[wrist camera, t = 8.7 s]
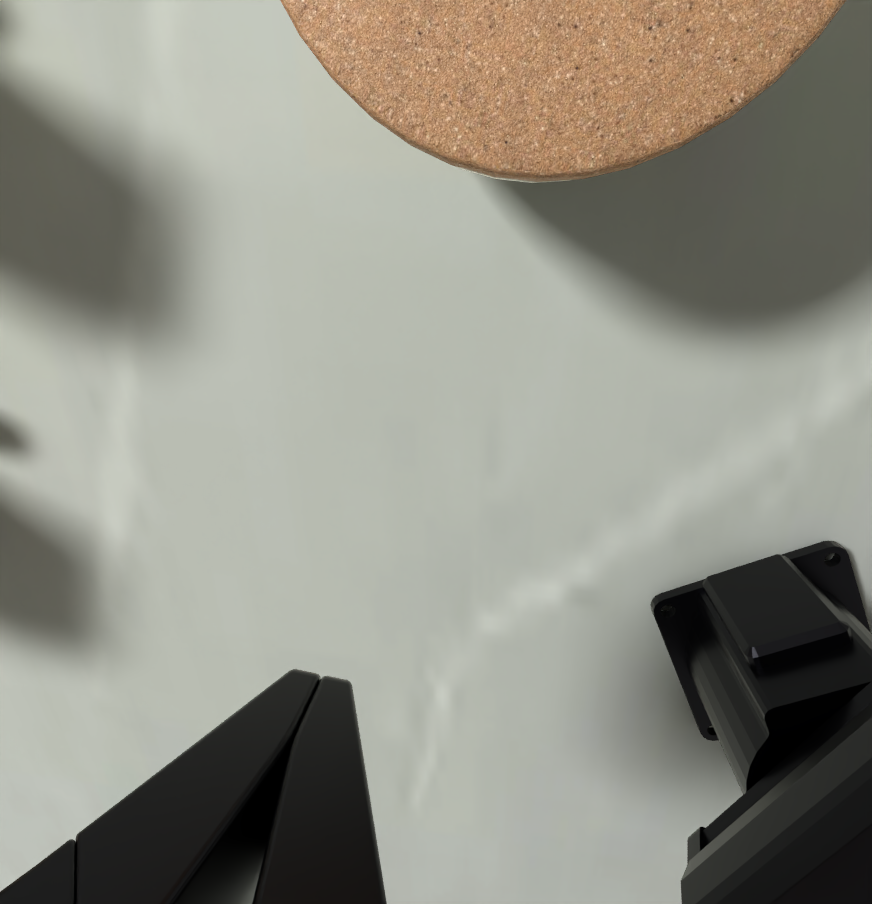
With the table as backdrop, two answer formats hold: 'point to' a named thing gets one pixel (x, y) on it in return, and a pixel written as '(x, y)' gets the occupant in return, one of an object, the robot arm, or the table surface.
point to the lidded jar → (555, 73)
